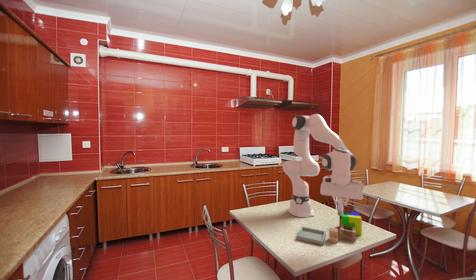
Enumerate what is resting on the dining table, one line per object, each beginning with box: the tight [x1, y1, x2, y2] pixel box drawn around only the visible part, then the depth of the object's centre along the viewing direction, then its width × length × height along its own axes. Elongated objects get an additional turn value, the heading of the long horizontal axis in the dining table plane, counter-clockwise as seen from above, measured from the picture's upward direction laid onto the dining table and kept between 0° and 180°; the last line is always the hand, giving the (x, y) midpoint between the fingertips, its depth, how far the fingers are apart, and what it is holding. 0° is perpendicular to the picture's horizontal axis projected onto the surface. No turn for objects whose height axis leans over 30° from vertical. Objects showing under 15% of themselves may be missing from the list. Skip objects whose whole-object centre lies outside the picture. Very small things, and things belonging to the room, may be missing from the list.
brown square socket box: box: [339, 225, 357, 242], centre depth 118 cm, size 8×8×5 cm
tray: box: [296, 226, 327, 246], centre depth 118 cm, size 13×13×2 cm
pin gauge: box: [337, 197, 345, 217], centre depth 111 cm, size 3×3×12 cm
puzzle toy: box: [338, 210, 363, 236], centre depth 127 cm, size 10×10×10 cm
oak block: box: [328, 227, 339, 244], centre depth 115 cm, size 4×4×6 cm
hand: (340, 205), depth 111 cm, fingers closed on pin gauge, 3 cm apart
